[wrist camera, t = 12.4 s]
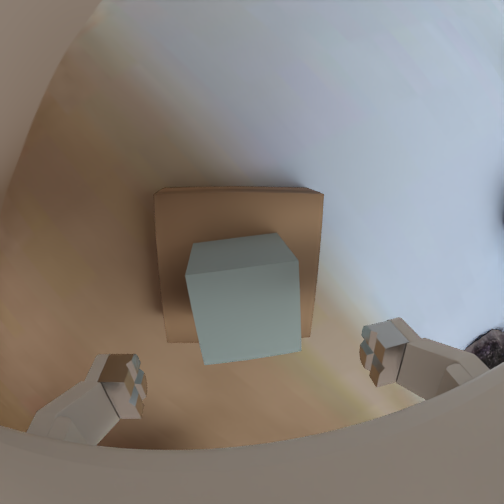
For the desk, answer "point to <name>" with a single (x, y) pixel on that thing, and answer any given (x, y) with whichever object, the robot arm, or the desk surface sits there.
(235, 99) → the desk surface
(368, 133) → the desk surface
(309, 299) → the walnut block
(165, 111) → the desk surface
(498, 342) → the black rock
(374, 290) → the desk surface
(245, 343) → the slate cube
